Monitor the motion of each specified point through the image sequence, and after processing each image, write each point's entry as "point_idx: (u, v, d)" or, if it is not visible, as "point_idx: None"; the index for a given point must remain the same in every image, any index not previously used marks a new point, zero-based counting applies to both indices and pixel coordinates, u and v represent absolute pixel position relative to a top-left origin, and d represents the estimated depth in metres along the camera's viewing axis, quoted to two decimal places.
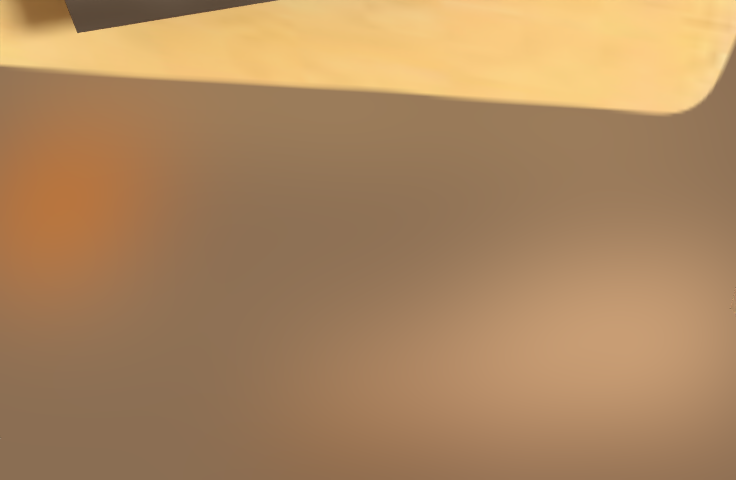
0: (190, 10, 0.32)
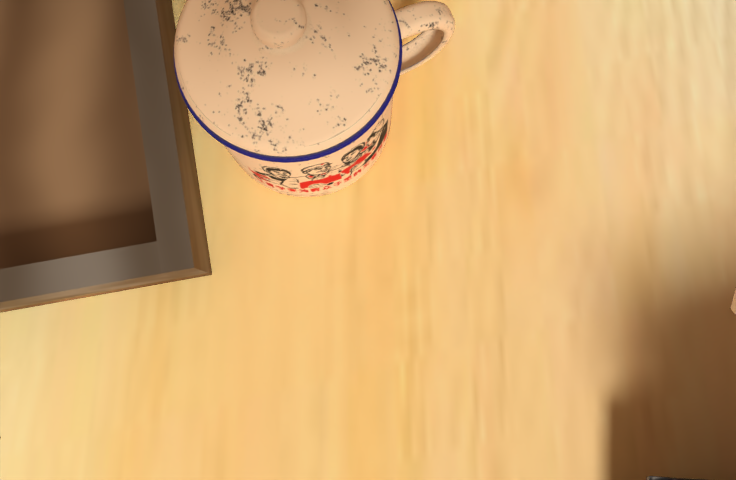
0: None
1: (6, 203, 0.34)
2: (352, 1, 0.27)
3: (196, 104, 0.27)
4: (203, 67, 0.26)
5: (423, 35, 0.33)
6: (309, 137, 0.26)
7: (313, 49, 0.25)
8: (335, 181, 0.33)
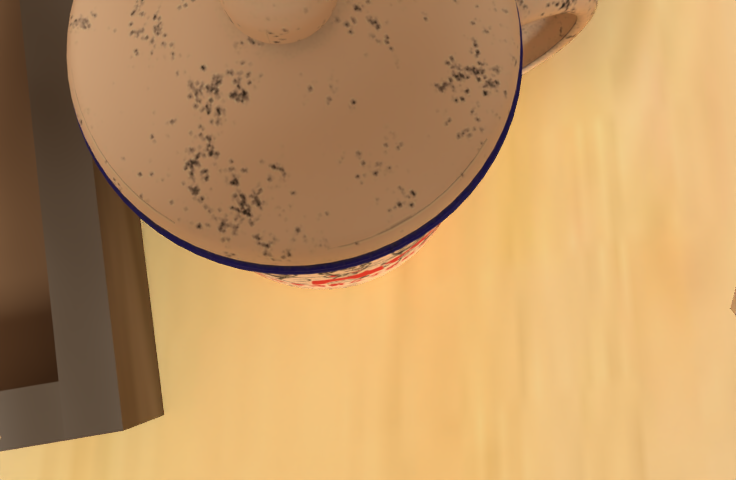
0: None
1: None
2: None
3: (106, 157, 0.13)
4: (120, 81, 0.13)
5: (524, 26, 0.19)
6: (339, 230, 0.13)
7: (351, 46, 0.12)
8: (372, 273, 0.19)
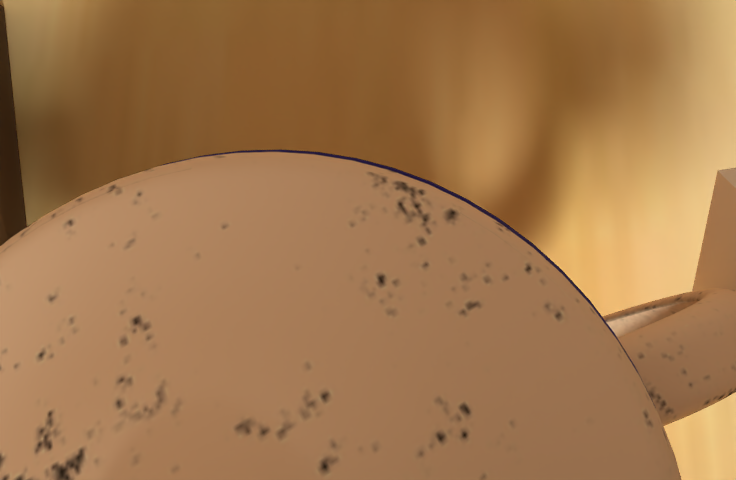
0: None
1: None
2: (532, 446, 0.06)
3: None
4: None
5: (620, 312, 0.13)
6: None
7: None
8: None
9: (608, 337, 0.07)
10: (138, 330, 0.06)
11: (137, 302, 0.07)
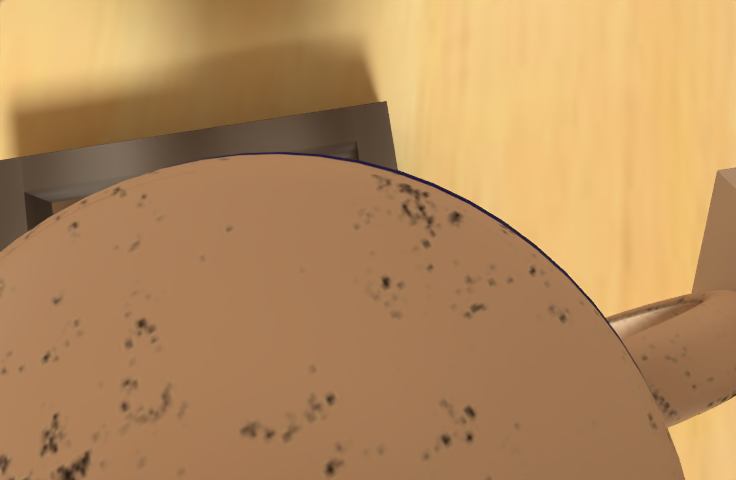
0: None
1: None
2: (537, 448, 0.06)
3: None
4: None
5: (622, 313, 0.13)
6: None
7: None
8: None
9: (612, 339, 0.07)
10: (143, 333, 0.06)
11: (141, 306, 0.07)
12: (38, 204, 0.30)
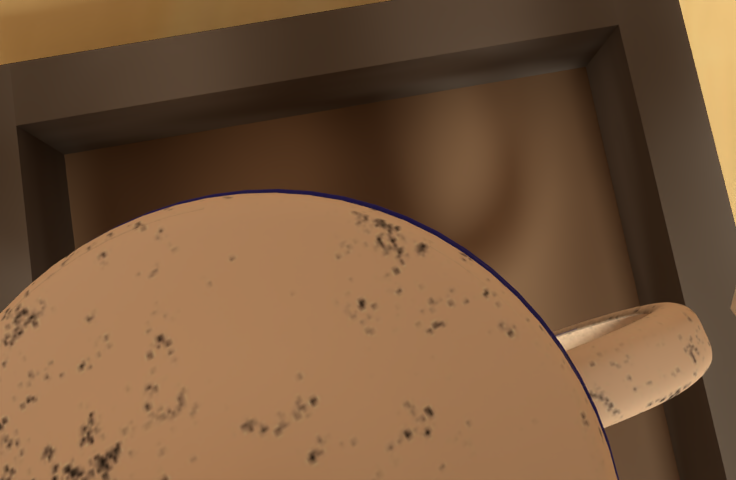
0: None
1: None
2: (485, 441, 0.08)
3: None
4: None
5: (590, 321, 0.14)
6: None
7: None
8: None
9: (553, 350, 0.08)
10: (161, 346, 0.08)
11: (160, 323, 0.08)
12: (42, 153, 0.17)
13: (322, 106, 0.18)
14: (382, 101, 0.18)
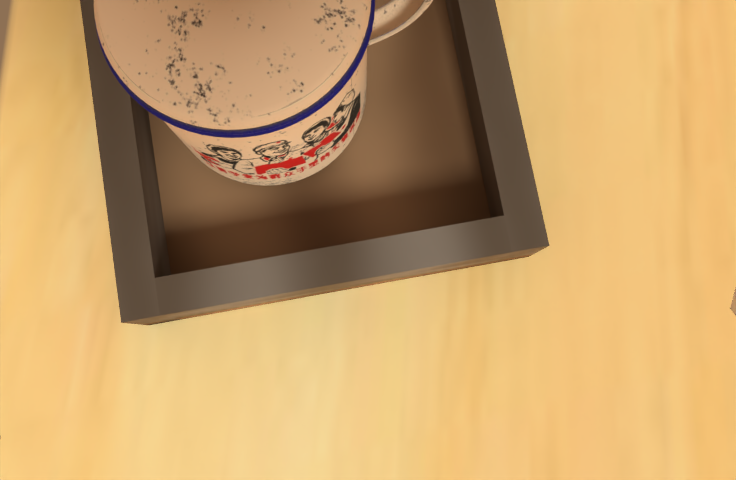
0: None
1: None
2: None
3: (118, 64, 0.21)
4: (127, 18, 0.21)
5: None
6: (257, 105, 0.21)
7: None
8: (298, 166, 0.28)
9: None
10: None
11: None
12: None
13: None
14: None
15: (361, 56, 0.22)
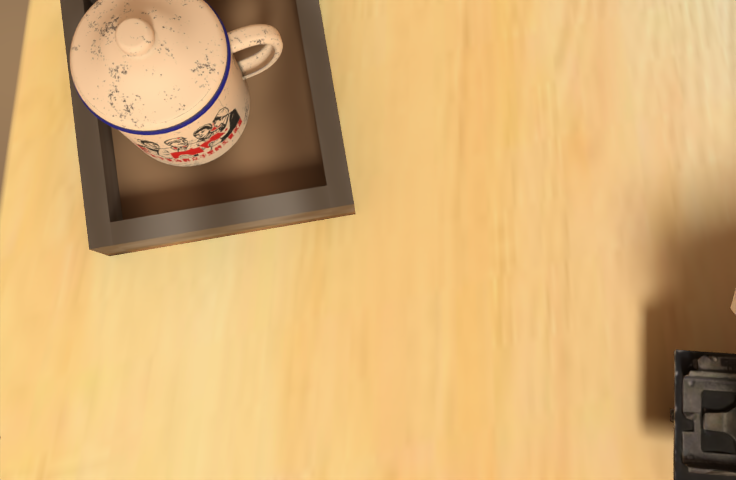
0: (68, 46, 0.46)
1: None
2: (192, 24, 0.38)
3: (82, 93, 0.38)
4: (87, 68, 0.38)
5: (266, 48, 0.45)
6: (159, 117, 0.38)
7: (159, 57, 0.37)
8: (199, 153, 0.45)
9: (212, 13, 0.39)
10: (127, 4, 0.38)
11: (127, 1, 0.39)
12: (89, 3, 0.48)
13: None
14: None
15: (221, 89, 0.39)
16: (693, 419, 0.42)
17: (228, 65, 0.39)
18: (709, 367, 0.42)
